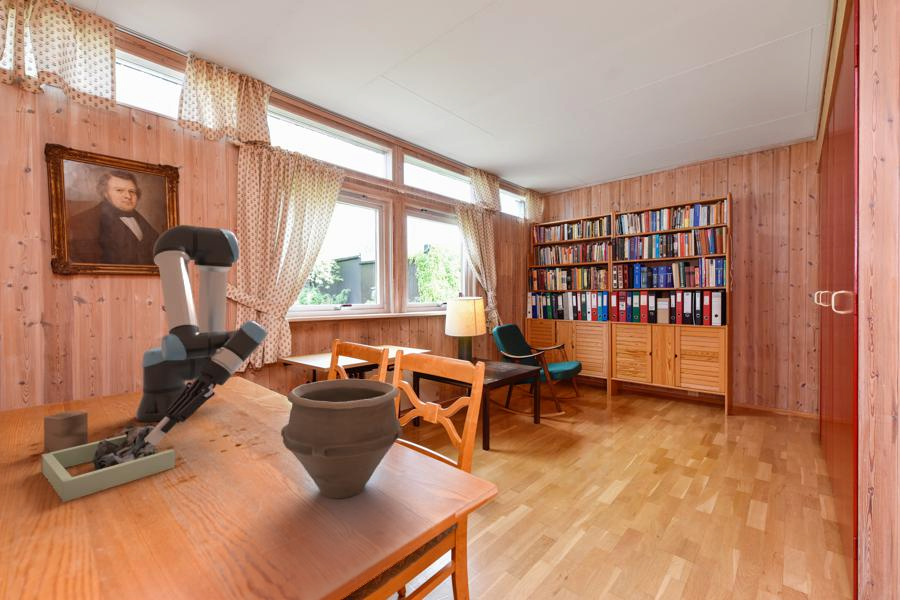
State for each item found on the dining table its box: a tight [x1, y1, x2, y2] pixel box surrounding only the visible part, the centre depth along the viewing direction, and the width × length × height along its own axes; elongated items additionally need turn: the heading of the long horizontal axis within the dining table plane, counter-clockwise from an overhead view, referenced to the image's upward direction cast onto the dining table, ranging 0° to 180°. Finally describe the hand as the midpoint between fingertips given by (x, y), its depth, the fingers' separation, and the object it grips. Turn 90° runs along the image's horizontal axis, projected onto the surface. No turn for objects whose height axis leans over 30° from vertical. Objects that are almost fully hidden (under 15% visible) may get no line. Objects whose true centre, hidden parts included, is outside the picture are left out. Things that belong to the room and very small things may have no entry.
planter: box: [280, 378, 404, 500], centre depth 82 cm, size 25×24×22 cm
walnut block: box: [43, 410, 89, 453], centre depth 102 cm, size 6×6×9 cm
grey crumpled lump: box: [92, 422, 159, 471], centre depth 96 cm, size 12×11×15 cm
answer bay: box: [41, 434, 176, 503], centre depth 90 cm, size 19×22×4 cm
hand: (149, 442), depth 96 cm, fingers closed
